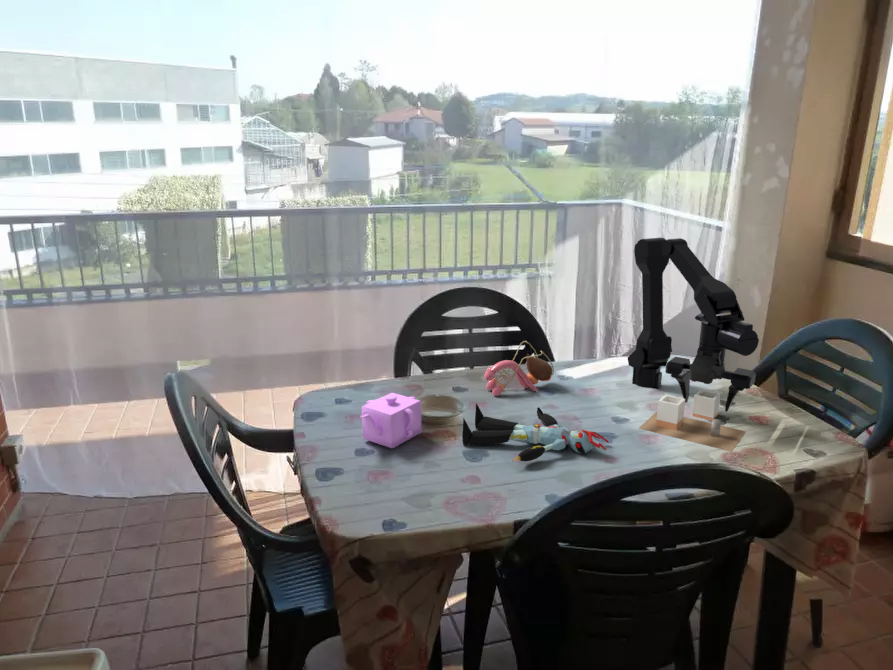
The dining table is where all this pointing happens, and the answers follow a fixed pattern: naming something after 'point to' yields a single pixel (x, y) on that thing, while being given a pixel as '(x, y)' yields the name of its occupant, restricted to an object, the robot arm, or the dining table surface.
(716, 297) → the robot arm
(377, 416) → the teapot
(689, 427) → the pin board
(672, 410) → the sleeve seated
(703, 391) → the sleeve loose
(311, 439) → the dining table surface
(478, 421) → the toy
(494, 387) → the anatomy model
